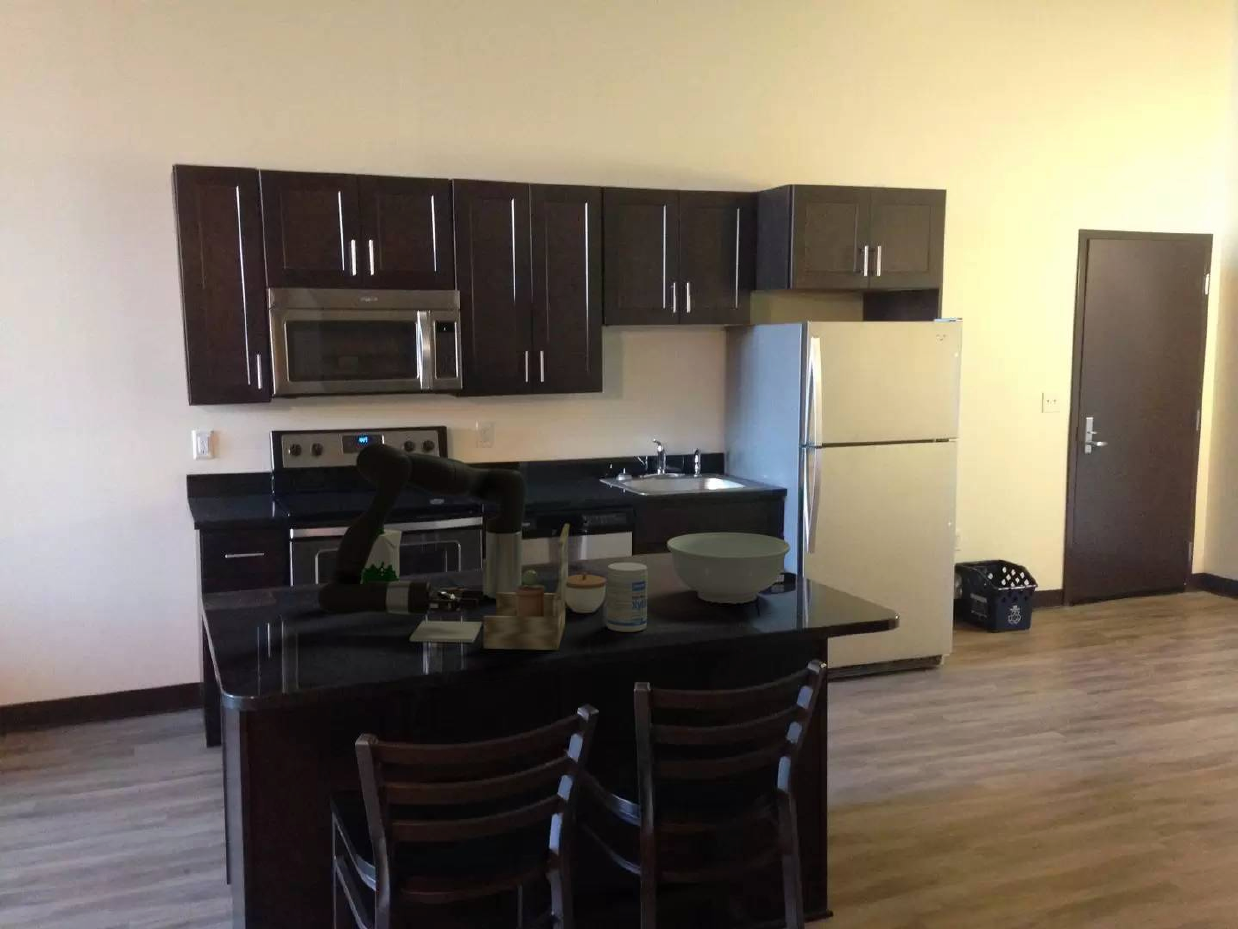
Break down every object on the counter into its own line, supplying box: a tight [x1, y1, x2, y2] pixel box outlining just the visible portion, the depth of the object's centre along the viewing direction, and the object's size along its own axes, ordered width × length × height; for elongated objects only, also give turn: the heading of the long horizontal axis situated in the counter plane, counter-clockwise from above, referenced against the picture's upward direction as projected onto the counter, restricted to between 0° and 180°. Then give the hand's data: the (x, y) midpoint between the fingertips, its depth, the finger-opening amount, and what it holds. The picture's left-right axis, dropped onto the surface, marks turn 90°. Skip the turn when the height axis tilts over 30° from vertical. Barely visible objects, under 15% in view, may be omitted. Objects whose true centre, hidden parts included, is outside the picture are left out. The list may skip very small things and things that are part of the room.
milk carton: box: [361, 524, 403, 584], centre depth 268 cm, size 9×9×20 cm
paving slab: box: [409, 620, 483, 643], centre depth 241 cm, size 14×14×1 cm
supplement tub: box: [605, 562, 649, 633], centre depth 248 cm, size 10×10×15 cm
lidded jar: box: [565, 572, 607, 614], centre depth 263 cm, size 11×11×9 cm
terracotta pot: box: [516, 569, 546, 617], centre depth 240 cm, size 7×7×15 cm
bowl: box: [666, 532, 791, 605], centre depth 278 cm, size 32×32×15 cm
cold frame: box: [483, 523, 570, 651], centre depth 240 cm, size 17×22×24 cm
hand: (480, 599), depth 240 cm, fingers open, 8 cm apart
